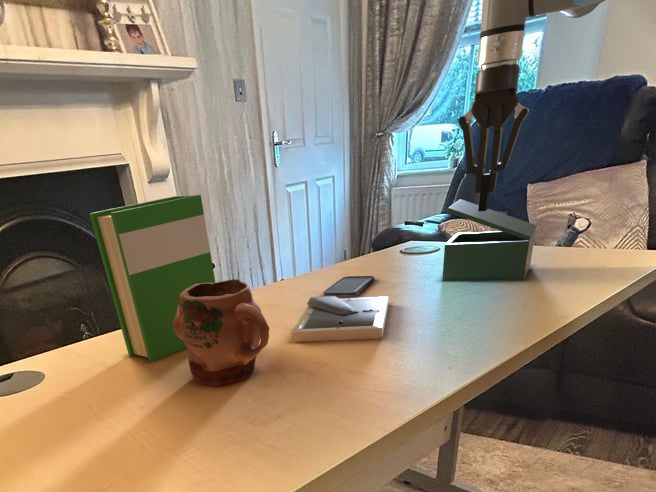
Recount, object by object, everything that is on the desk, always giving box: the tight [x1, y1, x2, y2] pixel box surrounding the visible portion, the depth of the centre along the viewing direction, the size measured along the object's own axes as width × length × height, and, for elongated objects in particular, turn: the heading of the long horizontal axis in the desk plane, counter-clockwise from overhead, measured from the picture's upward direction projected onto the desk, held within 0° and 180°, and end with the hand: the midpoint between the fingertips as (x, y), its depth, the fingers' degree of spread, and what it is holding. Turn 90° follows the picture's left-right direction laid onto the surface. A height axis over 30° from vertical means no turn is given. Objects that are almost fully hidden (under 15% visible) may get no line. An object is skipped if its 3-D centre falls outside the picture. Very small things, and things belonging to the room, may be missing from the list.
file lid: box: [446, 198, 538, 241], centre depth 112 cm, size 18×13×1 cm
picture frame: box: [291, 295, 389, 343], centre depth 100 cm, size 16×3×21 cm
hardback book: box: [89, 194, 216, 363], centre depth 95 cm, size 18×7×24 cm, turn 136°
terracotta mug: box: [173, 278, 270, 388], centre depth 80 cm, size 20×12×14 cm, turn 49°
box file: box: [441, 229, 537, 282], centre depth 116 cm, size 17×13×8 cm
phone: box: [323, 275, 375, 298], centre depth 121 cm, size 8×1×15 cm
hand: (483, 210), depth 112 cm, fingers closed
